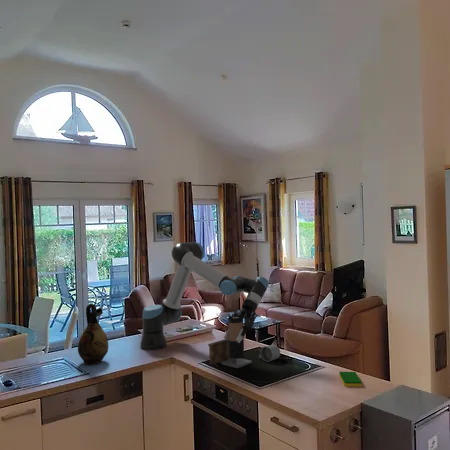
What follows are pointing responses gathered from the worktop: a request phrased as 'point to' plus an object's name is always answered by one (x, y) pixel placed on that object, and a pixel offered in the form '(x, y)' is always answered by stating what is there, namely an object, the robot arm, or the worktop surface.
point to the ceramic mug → (269, 353)
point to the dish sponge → (350, 379)
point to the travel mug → (234, 329)
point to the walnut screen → (219, 351)
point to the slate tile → (236, 362)
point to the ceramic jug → (93, 338)
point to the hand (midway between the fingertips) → (231, 340)
